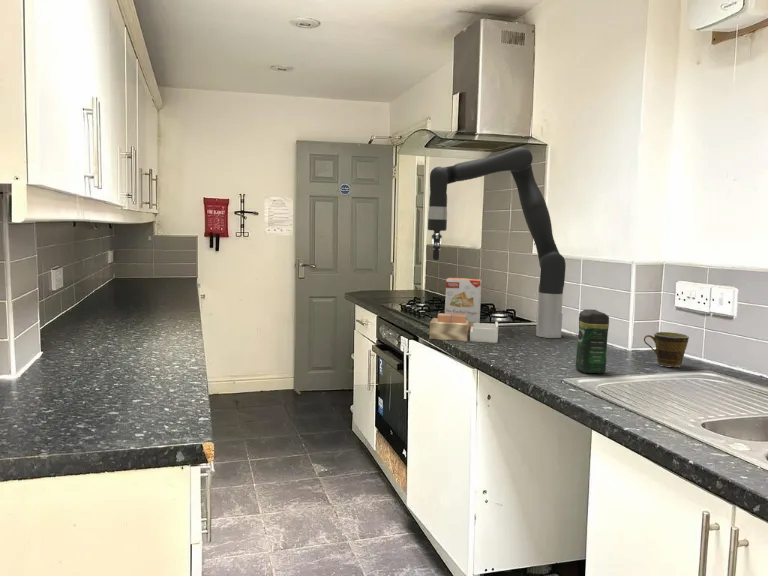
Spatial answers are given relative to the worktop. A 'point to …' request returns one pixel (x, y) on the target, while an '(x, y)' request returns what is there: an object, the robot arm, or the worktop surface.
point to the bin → (484, 332)
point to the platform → (448, 330)
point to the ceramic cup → (669, 348)
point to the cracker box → (464, 298)
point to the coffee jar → (592, 341)
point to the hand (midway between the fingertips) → (435, 259)
